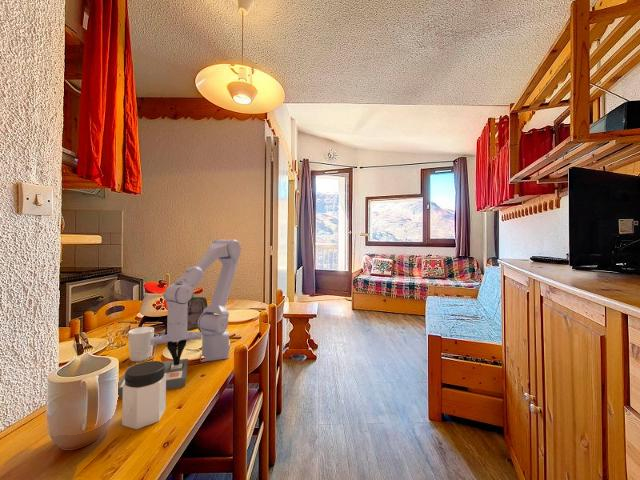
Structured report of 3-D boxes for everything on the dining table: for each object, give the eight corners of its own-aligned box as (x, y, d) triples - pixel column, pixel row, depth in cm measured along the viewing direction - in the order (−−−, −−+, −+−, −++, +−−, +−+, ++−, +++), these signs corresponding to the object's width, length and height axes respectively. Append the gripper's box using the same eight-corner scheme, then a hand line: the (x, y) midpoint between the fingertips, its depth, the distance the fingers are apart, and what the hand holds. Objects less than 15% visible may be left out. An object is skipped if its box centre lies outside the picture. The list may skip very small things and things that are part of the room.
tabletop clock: (172, 342, 114) (173, 282, 114) (166, 336, 120) (167, 280, 120) (207, 334, 124) (208, 279, 124) (199, 329, 130) (201, 277, 130)
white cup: (141, 363, 94) (141, 334, 94) (122, 361, 96) (122, 332, 96) (158, 354, 102) (159, 327, 102) (141, 352, 104) (141, 325, 104)
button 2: (182, 370, 89) (182, 363, 89) (181, 374, 86) (181, 367, 86) (171, 371, 88) (171, 364, 88) (170, 376, 85) (170, 369, 85)
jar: (113, 424, 63) (115, 372, 63) (145, 404, 71) (146, 358, 71) (142, 433, 61) (144, 379, 61) (172, 411, 69) (173, 363, 69)
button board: (187, 365, 93) (187, 357, 93) (184, 386, 80) (185, 377, 80) (128, 374, 86) (128, 365, 86) (114, 398, 74) (115, 388, 74)
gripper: (148, 328, 81) (148, 373, 81) (201, 323, 86) (201, 365, 87) (153, 321, 87) (152, 363, 87) (202, 317, 93) (201, 356, 93)
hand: (176, 363), depth 87 cm, fingers closed
